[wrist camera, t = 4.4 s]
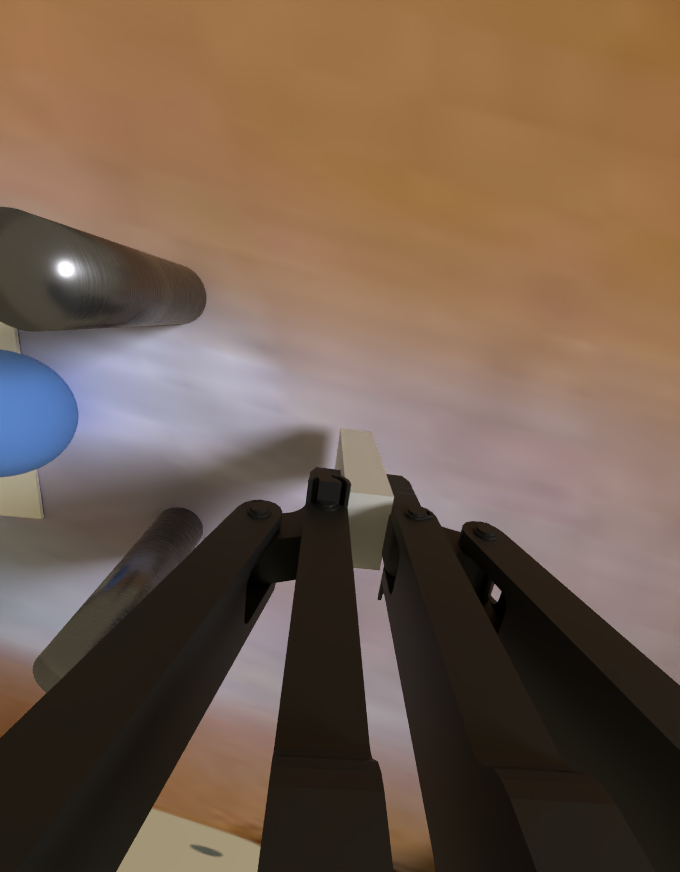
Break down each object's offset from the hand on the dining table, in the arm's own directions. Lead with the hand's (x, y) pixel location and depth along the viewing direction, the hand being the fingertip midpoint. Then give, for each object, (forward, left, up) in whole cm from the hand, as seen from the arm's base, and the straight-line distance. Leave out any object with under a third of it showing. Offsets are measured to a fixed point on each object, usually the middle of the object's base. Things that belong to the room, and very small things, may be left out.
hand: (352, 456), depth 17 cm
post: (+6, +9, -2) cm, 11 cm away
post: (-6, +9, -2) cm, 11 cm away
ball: (0, +15, +1) cm, 16 cm away
